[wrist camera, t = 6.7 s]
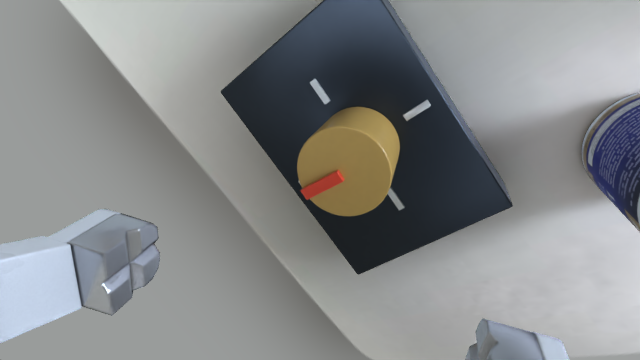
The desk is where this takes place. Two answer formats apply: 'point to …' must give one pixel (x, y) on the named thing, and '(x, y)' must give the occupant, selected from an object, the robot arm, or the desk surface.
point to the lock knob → (349, 162)
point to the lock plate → (384, 97)
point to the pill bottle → (616, 155)
